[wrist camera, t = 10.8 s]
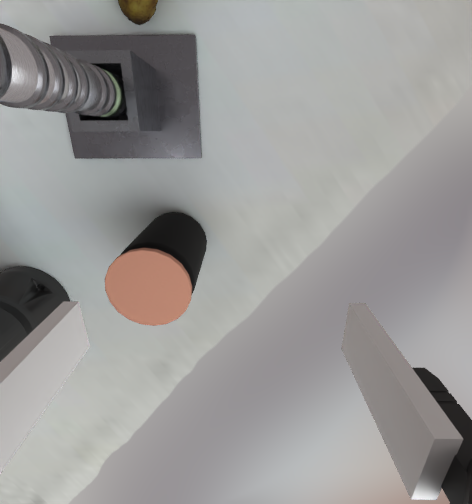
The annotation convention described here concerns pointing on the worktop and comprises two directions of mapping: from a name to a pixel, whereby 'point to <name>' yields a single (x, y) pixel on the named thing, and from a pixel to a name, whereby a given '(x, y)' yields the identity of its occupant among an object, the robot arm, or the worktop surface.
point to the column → (54, 79)
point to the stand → (140, 97)
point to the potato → (138, 10)
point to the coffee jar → (158, 270)
